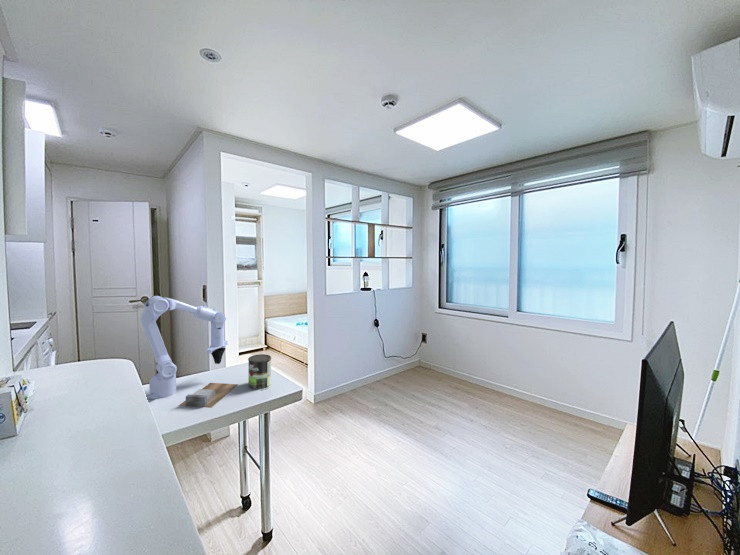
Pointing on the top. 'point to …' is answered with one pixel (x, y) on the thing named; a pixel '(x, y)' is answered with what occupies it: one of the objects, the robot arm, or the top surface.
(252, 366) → the coffee can
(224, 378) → the top surface
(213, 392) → the block
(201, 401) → the slide rail board
